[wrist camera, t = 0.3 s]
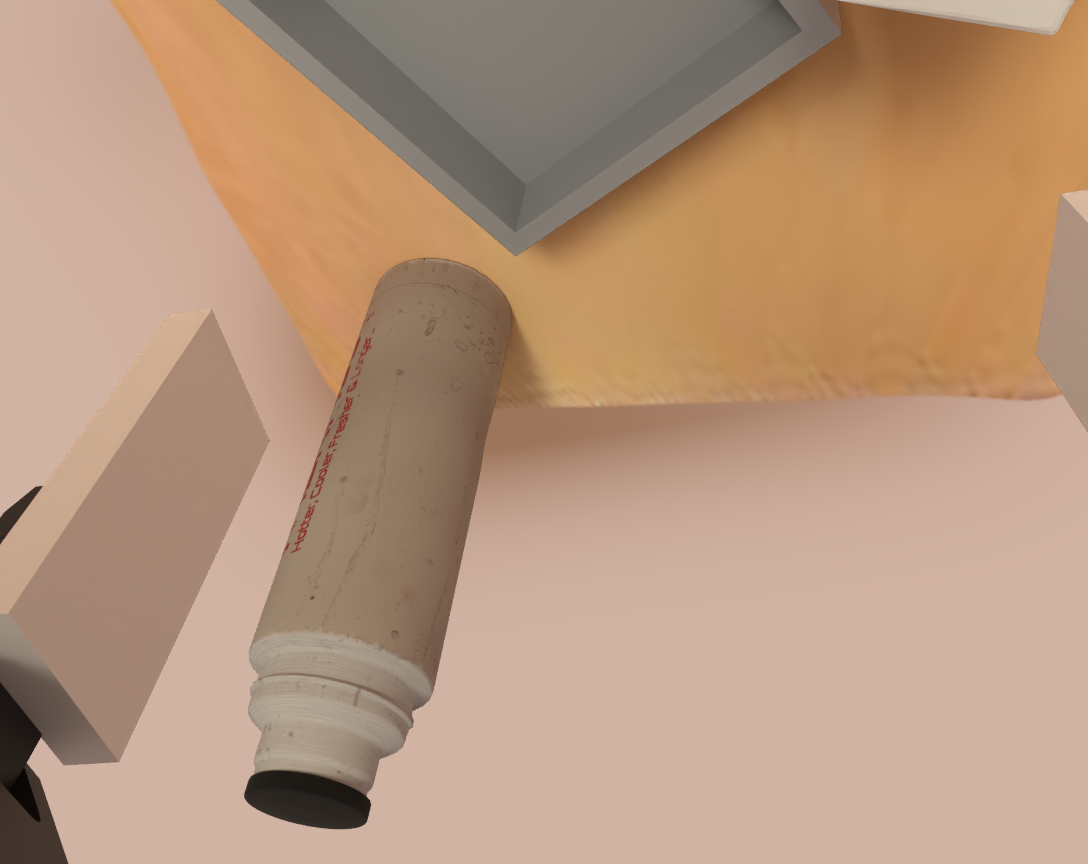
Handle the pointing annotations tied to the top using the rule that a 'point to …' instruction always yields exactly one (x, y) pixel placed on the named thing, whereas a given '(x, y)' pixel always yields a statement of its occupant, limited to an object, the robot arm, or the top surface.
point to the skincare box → (987, 12)
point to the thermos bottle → (376, 545)
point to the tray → (537, 86)
